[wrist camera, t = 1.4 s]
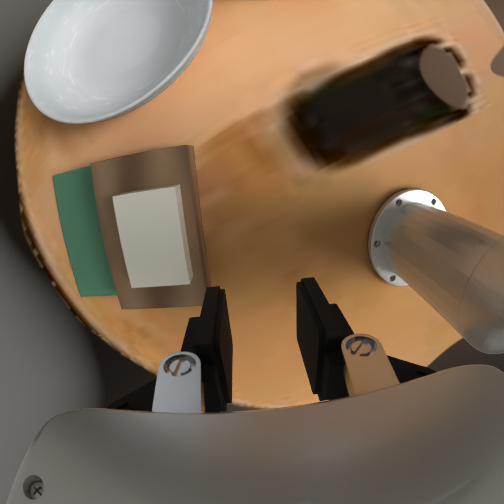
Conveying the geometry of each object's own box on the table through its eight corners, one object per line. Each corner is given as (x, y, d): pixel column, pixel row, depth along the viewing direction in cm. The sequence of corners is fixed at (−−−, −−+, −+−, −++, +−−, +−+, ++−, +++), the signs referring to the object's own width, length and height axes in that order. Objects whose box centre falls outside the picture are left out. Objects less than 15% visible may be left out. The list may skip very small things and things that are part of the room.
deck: (193, 146, 27) (186, 144, 23) (211, 287, 32) (208, 305, 29) (107, 161, 27) (90, 163, 23) (132, 292, 32) (121, 309, 29)
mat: (106, 162, 27) (104, 162, 27) (131, 293, 32) (130, 294, 32) (54, 175, 27) (53, 176, 26) (82, 295, 32) (80, 296, 32)
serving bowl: (217, -33, 19) (214, -65, 13) (219, 114, 26) (213, 102, 20) (65, 6, 19) (40, -11, 12) (53, 144, 26) (17, 146, 19)
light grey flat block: (179, 184, 24) (174, 186, 23) (193, 275, 28) (190, 284, 26) (120, 193, 24) (112, 196, 23) (137, 279, 27) (131, 288, 26)
